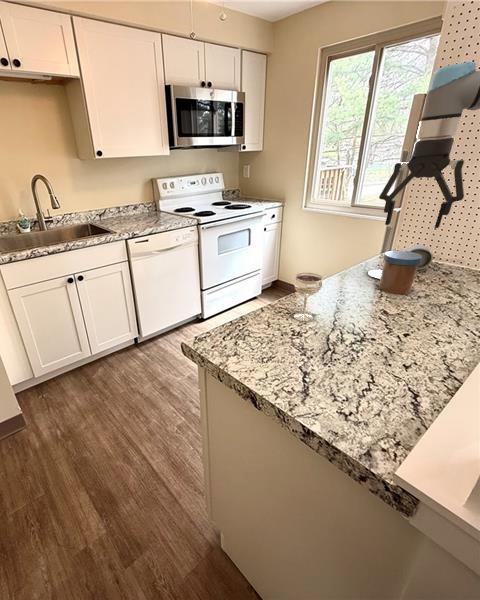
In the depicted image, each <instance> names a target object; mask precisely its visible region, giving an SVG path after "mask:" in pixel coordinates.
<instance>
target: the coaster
mask: <svg viewBox="0 0 480 600" xmlns="http://www.w3.org/2000/svg"><path fill="white" fill-rule="evenodd" d="M382 270H383V269H372V270H369V271H367V272H368V273H367V276H369V277H370V278H372V279H374V280H378V281H380V278H381V274H382Z"/></svg>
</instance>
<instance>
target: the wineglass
mask: <svg viewBox="0 0 480 600" xmlns="http://www.w3.org/2000/svg"><path fill="white" fill-rule="evenodd" d="M294 278H295V280H294V282H293V287H294V290H295V291H296V292H297V293H298V294H299V295H301V296H303V298H304V299H303V301H304V302H303V308H302V309H303V310H302V312H295V313H294V314H293V318H294V319H295V320H297V321H300V322H311V321H312V320H313V319H314V316H313V315H311V314H310V313H306V308H307V303H308V298H309V297H311V296H315V295H317V294H318V293H320V291H321V290H322V289H323V280H324V276H323V275H321V274H319V273H314V272H300V273H297V274H295V275H294Z"/></svg>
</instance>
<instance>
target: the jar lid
mask: <svg viewBox="0 0 480 600" xmlns="http://www.w3.org/2000/svg"><path fill="white" fill-rule="evenodd" d="M383 261H384V262H385V261H386V262H388V263H391V264H396V265H406V266H410V265H418V264H420V263H421V261H422V255H420V254H417V253H414V252H408V251H406V250H391V251H386V252H385V254H384V256H383Z"/></svg>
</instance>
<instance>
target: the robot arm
mask: <svg viewBox="0 0 480 600" xmlns="http://www.w3.org/2000/svg"><path fill="white" fill-rule="evenodd" d="M476 67H477V63H476V62H475V61H467V62H459V63H453V64H449V65H445V66H442V67H440V68H438V69H436V70H435V71H434V72H433V74H432V77H431V79H430V82H429V83H430V84H429V87H428V89H427V91H426V97H425V101H424V106H423V109H422V114H421V118H420V121H419V126H418V129H417V133H416V139H417V141H415V142H414V144H413V150H412V153H411V158H410V160H409V161H407V162H402V161H401V162H400V161H399V162H397V163H395V164H394V167H393V171H392V172H393V173H392V174H391V176H390V177H389V178H388V181H387V183H386V184H385V186H384V188H383V189H382V191H381V193H380V195H379V196H378V199H379V200H383V201H384V202H385V203H384V207H383V208H384V209H383V212H384V213H385V214H386V218H385V223H384V225H385V226H389V225H390V224H391V221H392V218H393V213H394V209H395V204H396V200H393V199H395V198H396V196H398V194H399V193H400V192H401V191H403V190H404V188H405V187H406V186H408V184H409V183H410V182H411V181H412V180H414V178H416V179H422V178H426V179H431V178H434V179H435V181H436V183H437V185H438V187H439V189H440V191H441V193H442V195H443V198H444V200H445V201H442V203H441V205H440V208H439V212H438V215H437V219H436V221H435V225H434V229H440V228H439V227H440V226H441V223H442V219H443V216H448V215H449V214H450V212H451V210H452V206H453V203H455V202H459V201H462V200H463V199H464V198H465V192H464V191H465V190H464V179H463V167H464V164H465V159H463V158H461V159H457V160H454V159H453V160H451V159H450V155H451V153H452V152H451V151H452V149H453V145H454V142H455V139H454V138H453V137H454V136H456V134H457V131H458V127H459V125H460V121H461V118H462V115H463V111H464V110H468V111H478V110H480V70H477V68H476ZM448 166H450V168H451V170H454V171H453V175H454V187H455V195H453V193H452V192H451V189H450V187H449V185H448V183H447V180H446V179H445V177H444V174H443V170H444V169H446V168H447V167H448ZM405 168H407V169H408V170H409V174H408V175H407V176H406V177H405V179H404V180H402V181H401V183H400V184H399V185H398V186H397V187H396V188H395V189H394V190H393V191H392V192H391V193H390V194H389V192H390V190H391V189H392V187H393V186H394V184H395V182H396V180H397V179H398V177H399V175H400V174H401V172H403V171H404V170H405ZM388 194H389V195H388Z"/></svg>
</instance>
